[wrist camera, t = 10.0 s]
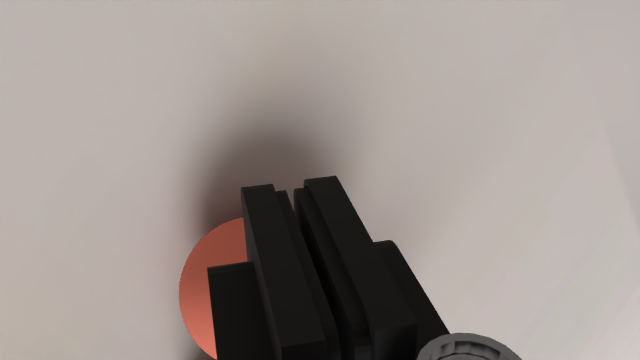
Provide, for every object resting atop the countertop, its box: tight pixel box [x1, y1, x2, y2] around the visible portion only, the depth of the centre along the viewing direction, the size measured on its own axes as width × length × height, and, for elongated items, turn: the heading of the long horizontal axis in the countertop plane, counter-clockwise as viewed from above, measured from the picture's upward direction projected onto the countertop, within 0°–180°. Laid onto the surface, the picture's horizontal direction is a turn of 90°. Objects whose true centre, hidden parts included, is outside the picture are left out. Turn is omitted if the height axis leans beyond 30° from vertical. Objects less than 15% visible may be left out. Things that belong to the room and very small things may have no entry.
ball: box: [179, 217, 247, 360], centre depth 24 cm, size 6×6×6 cm
